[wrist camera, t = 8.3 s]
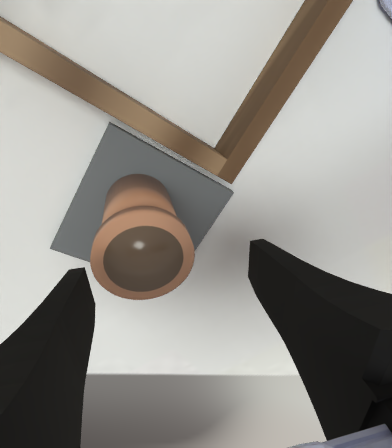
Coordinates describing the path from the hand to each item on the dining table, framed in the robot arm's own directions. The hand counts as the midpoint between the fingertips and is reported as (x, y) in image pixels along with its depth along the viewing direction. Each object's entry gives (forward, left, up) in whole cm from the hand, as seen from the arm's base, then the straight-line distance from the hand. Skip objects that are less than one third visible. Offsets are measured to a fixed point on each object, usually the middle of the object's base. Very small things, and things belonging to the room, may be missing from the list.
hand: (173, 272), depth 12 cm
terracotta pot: (+1, +1, -9) cm, 9 cm away
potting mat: (0, +2, -10) cm, 10 cm away
